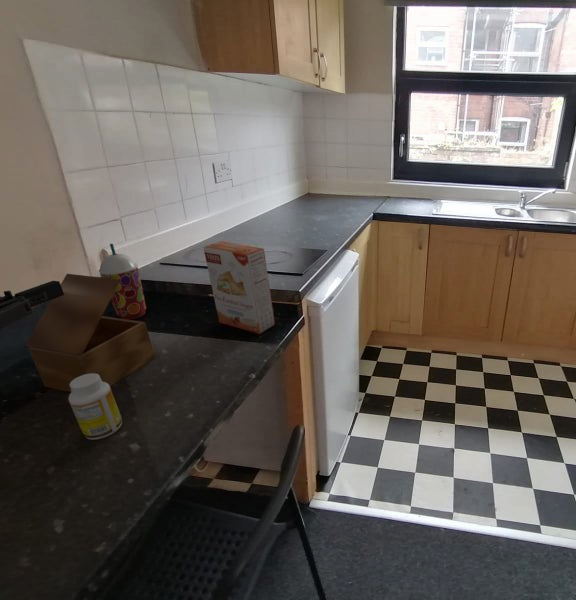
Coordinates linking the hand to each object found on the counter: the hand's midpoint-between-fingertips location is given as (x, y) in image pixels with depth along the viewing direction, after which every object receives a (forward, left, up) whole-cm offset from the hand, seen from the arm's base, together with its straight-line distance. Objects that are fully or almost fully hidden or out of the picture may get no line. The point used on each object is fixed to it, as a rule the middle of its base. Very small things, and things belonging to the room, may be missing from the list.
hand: (58, 287), depth 74 cm
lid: (0, +1, -6) cm, 6 cm away
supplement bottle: (+16, -11, -20) cm, 28 cm away
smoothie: (-16, +26, -20) cm, 36 cm away
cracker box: (+17, +29, -20) cm, 39 cm away
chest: (0, +3, -20) cm, 20 cm away
